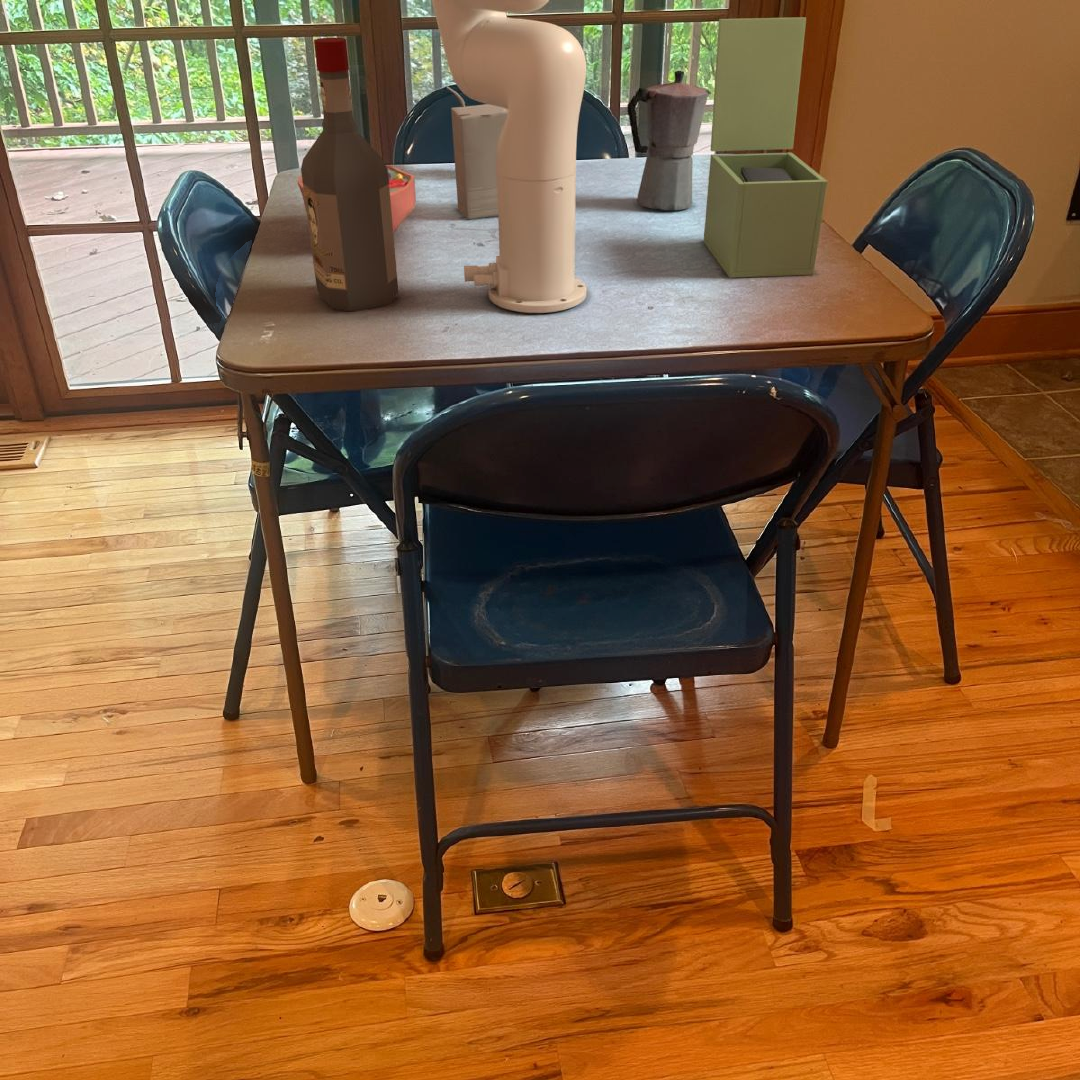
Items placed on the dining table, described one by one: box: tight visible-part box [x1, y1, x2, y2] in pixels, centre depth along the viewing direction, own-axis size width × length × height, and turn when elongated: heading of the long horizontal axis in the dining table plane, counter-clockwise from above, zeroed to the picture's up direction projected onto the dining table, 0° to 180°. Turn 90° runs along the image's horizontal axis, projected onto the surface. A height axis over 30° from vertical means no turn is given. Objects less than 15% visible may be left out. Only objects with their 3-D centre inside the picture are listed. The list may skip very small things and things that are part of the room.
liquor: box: [300, 37, 399, 312], centre depth 121 cm, size 9×9×30 cm
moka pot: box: [626, 70, 712, 211], centre depth 157 cm, size 10×15×20 cm, turn 124°
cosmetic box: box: [450, 103, 508, 220], centre depth 156 cm, size 8×7×16 cm
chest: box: [703, 151, 828, 279], centre depth 138 cm, size 16×12×12 cm
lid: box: [710, 16, 807, 152], centre depth 136 cm, size 16×12×1 cm
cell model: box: [296, 165, 417, 234], centre depth 147 cm, size 17×20×11 cm
